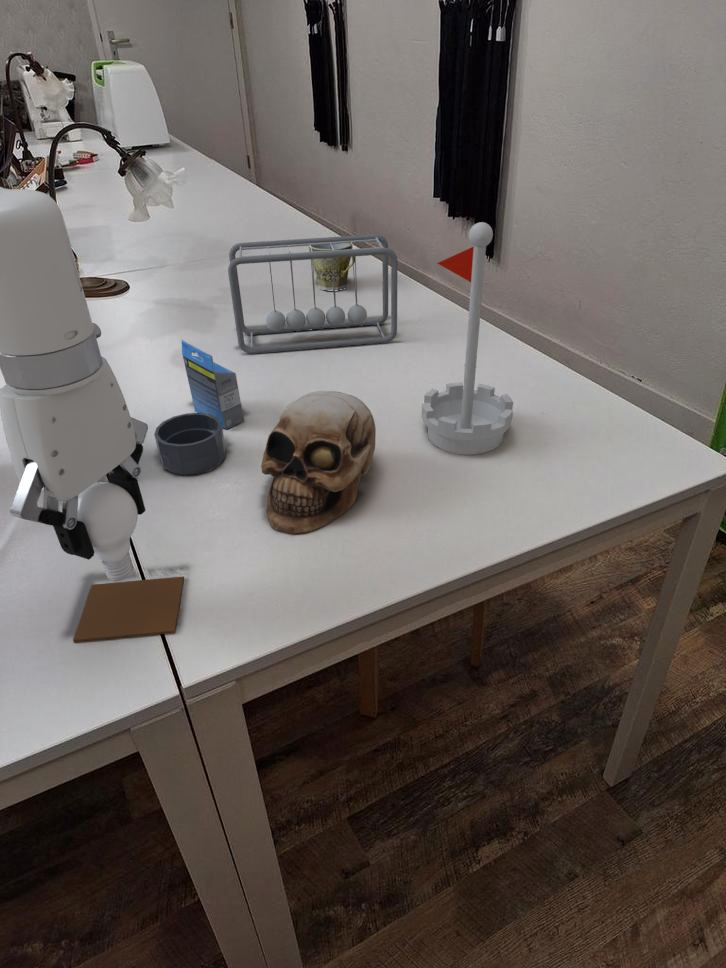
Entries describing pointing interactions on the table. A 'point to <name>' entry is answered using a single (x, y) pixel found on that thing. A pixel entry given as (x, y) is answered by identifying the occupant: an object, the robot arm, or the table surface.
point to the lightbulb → (109, 526)
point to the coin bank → (317, 459)
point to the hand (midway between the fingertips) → (106, 530)
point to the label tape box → (212, 387)
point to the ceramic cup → (325, 267)
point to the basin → (190, 443)
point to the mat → (130, 609)
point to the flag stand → (468, 373)
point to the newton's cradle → (314, 315)
